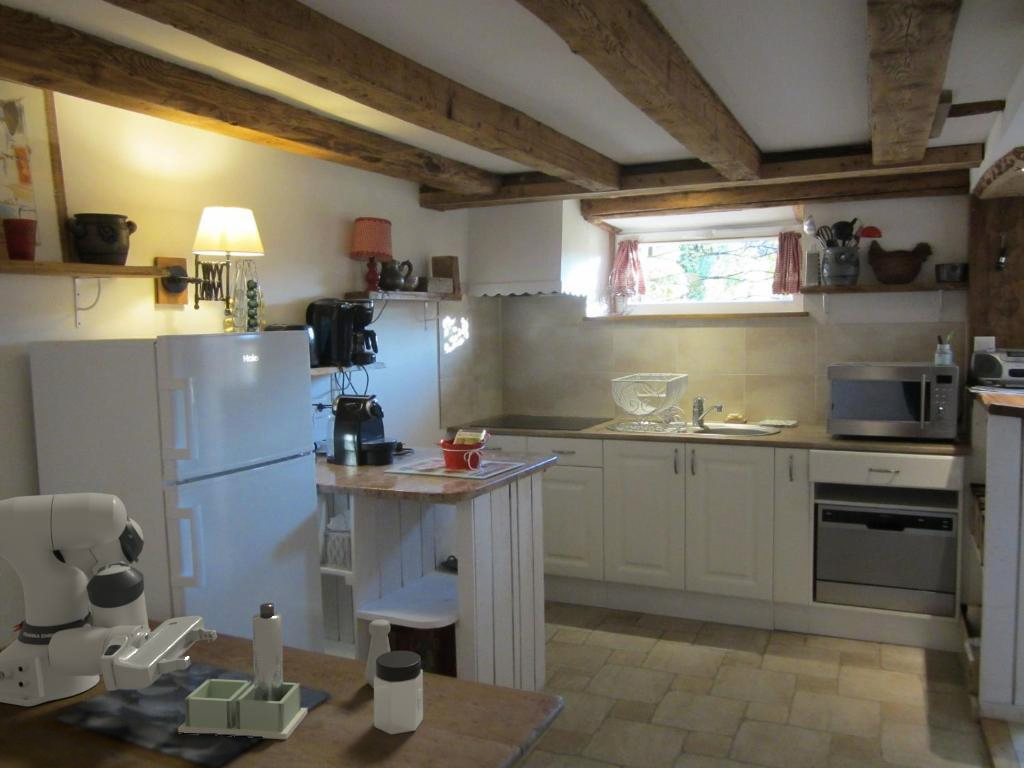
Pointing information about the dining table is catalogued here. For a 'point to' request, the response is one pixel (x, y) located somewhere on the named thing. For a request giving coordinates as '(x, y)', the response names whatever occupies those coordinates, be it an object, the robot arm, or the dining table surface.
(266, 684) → the pepper mill
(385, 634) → the salt shaker
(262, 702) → the green divided tray
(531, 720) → the dining table surface
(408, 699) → the jar
